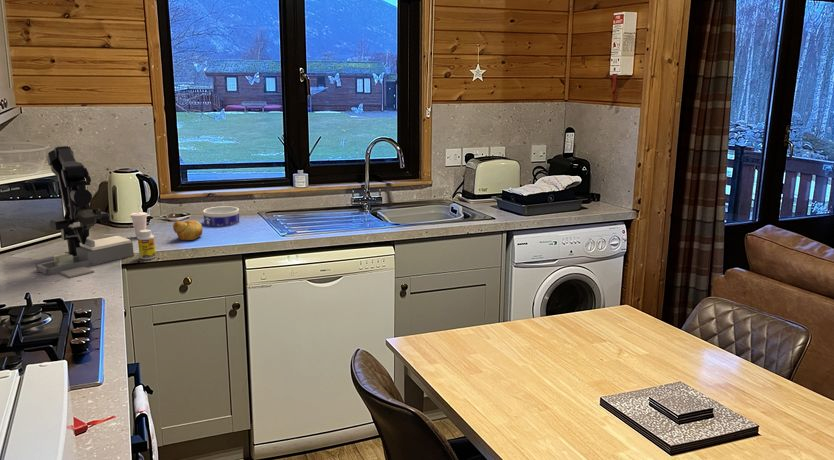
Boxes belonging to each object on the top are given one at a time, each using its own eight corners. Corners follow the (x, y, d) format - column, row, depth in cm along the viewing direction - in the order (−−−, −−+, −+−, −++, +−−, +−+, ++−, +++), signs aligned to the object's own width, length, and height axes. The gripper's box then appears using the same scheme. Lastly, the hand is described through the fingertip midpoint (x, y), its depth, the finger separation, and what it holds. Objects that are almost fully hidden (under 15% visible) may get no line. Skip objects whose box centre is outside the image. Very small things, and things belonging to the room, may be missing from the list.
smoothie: (152, 235, 281) (149, 202, 278) (140, 239, 275) (137, 205, 272) (141, 234, 284) (137, 201, 280) (129, 237, 278) (125, 204, 275)
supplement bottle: (141, 260, 246) (138, 233, 244) (138, 257, 251) (135, 230, 248) (157, 258, 249) (155, 231, 247) (154, 254, 254) (151, 228, 251)
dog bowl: (247, 221, 306) (246, 208, 305) (220, 228, 294) (219, 214, 292) (223, 217, 314) (222, 204, 313) (196, 224, 301) (195, 210, 300)
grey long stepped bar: (36, 270, 235) (34, 256, 234) (122, 251, 258) (120, 238, 257) (47, 275, 230) (45, 261, 229) (133, 255, 252) (132, 242, 251)
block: (55, 268, 238) (53, 255, 237) (68, 265, 241) (66, 253, 240) (61, 270, 235) (59, 258, 234) (74, 267, 238) (72, 255, 237)
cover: (80, 245, 246) (78, 237, 245) (117, 238, 256) (116, 230, 256) (92, 250, 240) (91, 242, 239) (130, 242, 250) (130, 234, 249)
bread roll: (188, 233, 285) (186, 214, 283) (209, 234, 283) (208, 215, 281) (172, 241, 273) (170, 221, 271) (194, 242, 271) (192, 222, 269)
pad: (59, 273, 232) (59, 271, 232) (83, 267, 238) (83, 266, 238) (70, 278, 227) (69, 276, 227) (94, 272, 233) (93, 270, 233)
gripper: (60, 208, 226) (66, 253, 230) (115, 199, 240) (119, 242, 244) (46, 204, 233) (52, 248, 237) (100, 195, 247) (105, 237, 251)
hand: (83, 244), depth 242 cm, fingers closed
